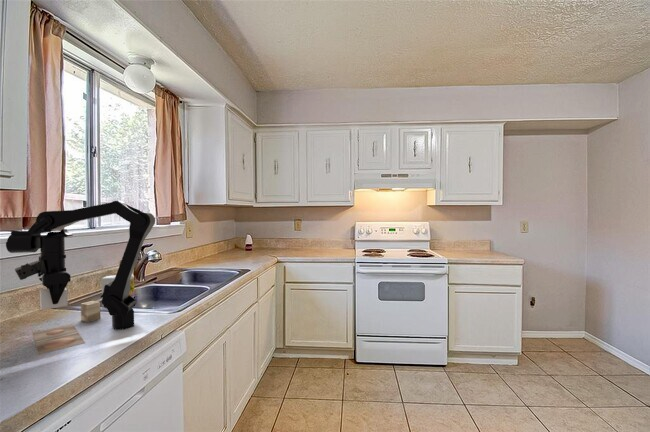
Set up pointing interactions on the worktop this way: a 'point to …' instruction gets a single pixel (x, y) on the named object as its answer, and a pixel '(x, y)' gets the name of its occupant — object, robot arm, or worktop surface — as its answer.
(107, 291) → the robot arm
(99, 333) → the worktop surface
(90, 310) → the tan rectangular block
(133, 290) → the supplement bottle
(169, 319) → the worktop surface
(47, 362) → the worktop surface
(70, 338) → the board
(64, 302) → the block
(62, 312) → the worktop surface
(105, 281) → the skincare box
